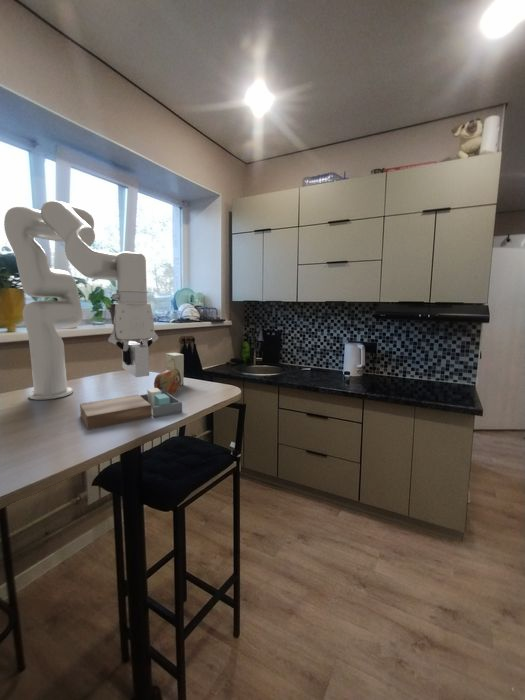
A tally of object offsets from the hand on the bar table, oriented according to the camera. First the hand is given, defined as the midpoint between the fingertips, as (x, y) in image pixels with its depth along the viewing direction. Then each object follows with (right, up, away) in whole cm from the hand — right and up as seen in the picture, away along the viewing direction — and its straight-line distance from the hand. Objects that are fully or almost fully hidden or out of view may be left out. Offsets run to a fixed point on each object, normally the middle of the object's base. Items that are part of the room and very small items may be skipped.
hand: (135, 362), depth 93 cm
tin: (+3, -12, +21) cm, 24 cm away
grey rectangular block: (0, -2, +1) cm, 3 cm away
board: (-5, -15, -1) cm, 16 cm away
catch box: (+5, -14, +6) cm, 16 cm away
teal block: (+6, -12, +1) cm, 14 cm away
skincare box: (+2, -10, +34) cm, 35 cm away
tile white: (+2, -11, +7) cm, 13 cm away
